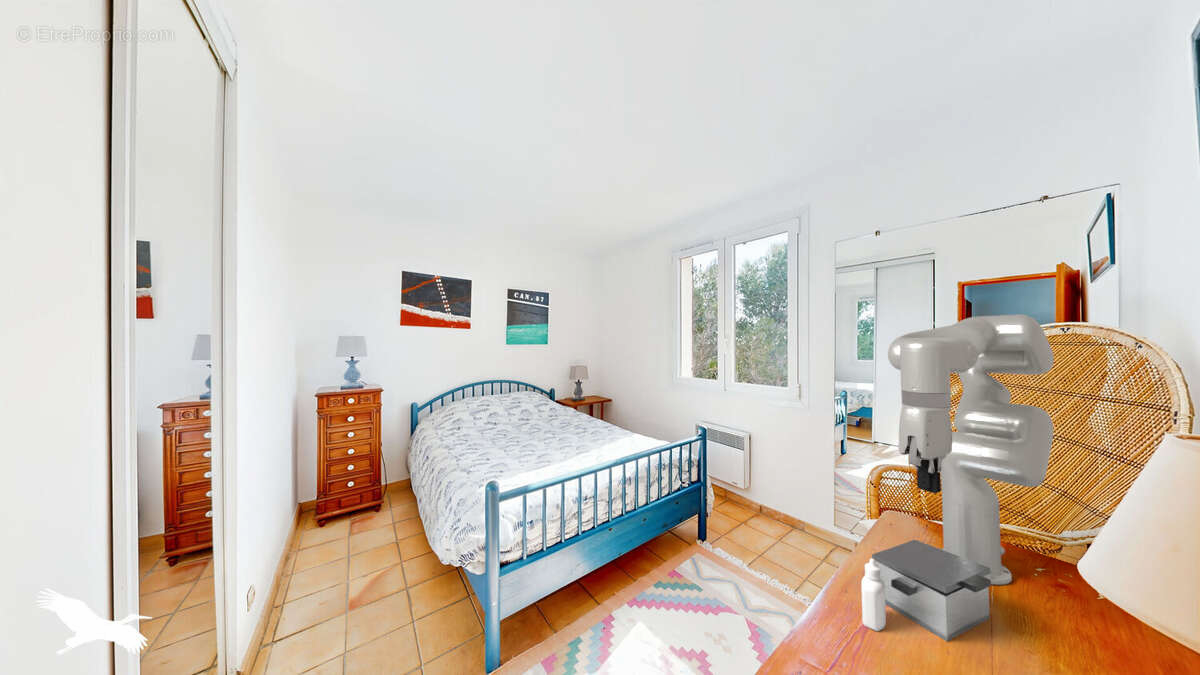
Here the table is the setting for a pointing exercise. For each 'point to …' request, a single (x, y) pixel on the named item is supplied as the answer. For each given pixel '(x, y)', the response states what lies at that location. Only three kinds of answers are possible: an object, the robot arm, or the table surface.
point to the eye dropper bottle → (873, 597)
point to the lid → (935, 567)
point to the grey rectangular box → (934, 604)
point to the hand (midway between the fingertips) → (929, 490)
